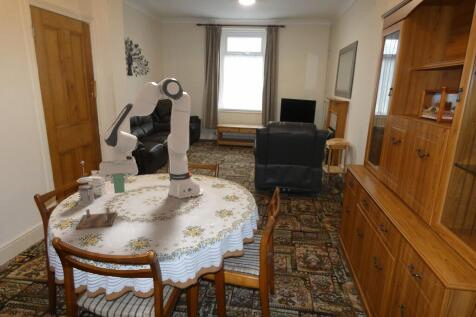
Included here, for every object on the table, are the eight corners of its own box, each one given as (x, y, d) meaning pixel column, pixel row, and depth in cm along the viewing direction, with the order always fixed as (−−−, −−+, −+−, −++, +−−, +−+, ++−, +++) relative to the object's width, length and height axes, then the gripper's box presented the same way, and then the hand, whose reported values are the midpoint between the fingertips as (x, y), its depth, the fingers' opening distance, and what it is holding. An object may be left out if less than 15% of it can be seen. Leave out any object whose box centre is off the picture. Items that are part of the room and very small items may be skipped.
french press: (93, 197, 175) (88, 158, 169) (100, 203, 168) (95, 162, 161) (75, 201, 169) (70, 160, 162) (81, 208, 161) (76, 165, 154)
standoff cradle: (116, 213, 155) (115, 205, 154) (112, 226, 142) (111, 216, 141) (83, 216, 151) (82, 207, 150) (76, 229, 138) (74, 220, 137)
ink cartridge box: (89, 195, 179) (86, 172, 175) (93, 192, 184) (91, 170, 180) (102, 196, 178) (99, 173, 174) (106, 193, 183) (104, 170, 179)
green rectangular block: (125, 190, 163) (123, 173, 161) (124, 192, 161) (122, 175, 158) (115, 191, 162) (113, 174, 160) (114, 193, 159) (112, 176, 157)
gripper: (98, 159, 161) (96, 181, 154) (136, 156, 166) (137, 178, 159) (100, 164, 166) (99, 186, 159) (138, 162, 171) (138, 183, 164)
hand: (118, 182), depth 159 cm, fingers closed on green rectangular block, 5 cm apart
